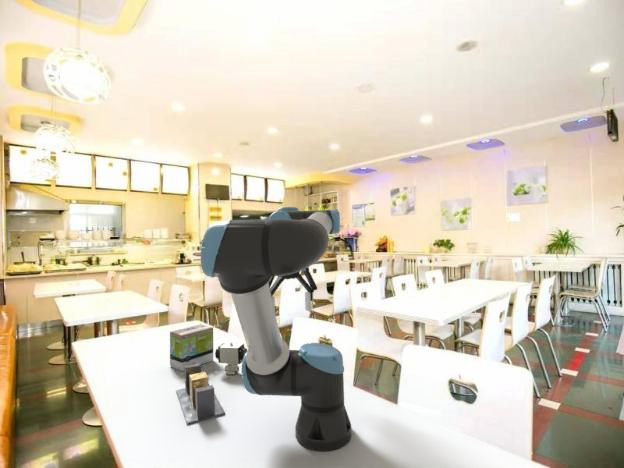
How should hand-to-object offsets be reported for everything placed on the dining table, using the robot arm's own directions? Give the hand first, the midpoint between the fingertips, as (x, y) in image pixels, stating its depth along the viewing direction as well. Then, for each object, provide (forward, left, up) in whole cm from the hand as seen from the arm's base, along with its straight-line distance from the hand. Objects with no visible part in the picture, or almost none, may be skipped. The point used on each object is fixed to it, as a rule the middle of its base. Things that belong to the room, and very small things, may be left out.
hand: (290, 313), depth 119 cm
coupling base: (+8, +30, -27) cm, 41 cm away
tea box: (+45, +26, -27) cm, 59 cm away
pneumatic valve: (+26, +14, -27) cm, 40 cm away
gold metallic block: (+8, +30, -26) cm, 41 cm away
